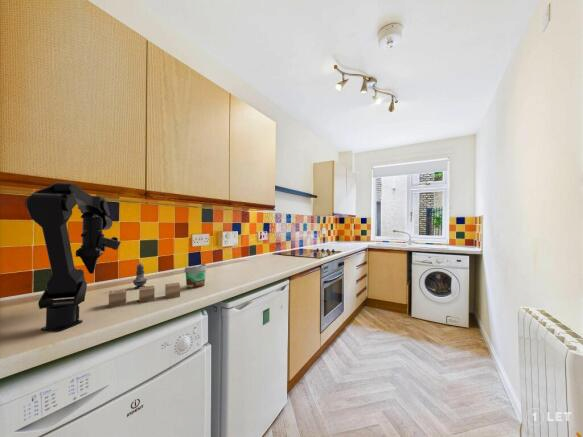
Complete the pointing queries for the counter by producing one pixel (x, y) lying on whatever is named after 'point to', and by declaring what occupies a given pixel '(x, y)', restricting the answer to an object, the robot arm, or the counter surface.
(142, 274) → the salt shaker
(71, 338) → the counter surface
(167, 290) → the walnut block numbered 1
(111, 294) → the walnut block numbered 7
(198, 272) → the food container
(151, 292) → the plain walnut block
